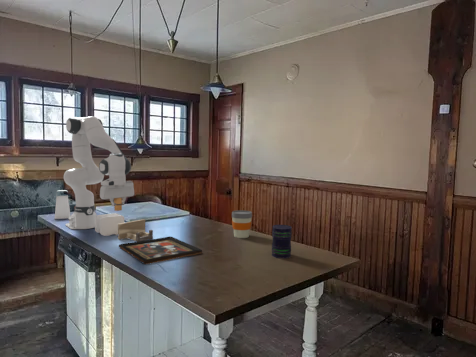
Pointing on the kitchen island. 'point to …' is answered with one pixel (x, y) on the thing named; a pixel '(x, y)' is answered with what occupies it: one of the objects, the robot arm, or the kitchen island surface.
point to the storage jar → (281, 241)
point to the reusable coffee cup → (241, 223)
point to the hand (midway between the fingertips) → (118, 205)
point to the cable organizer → (108, 223)
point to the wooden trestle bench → (134, 231)
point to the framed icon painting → (159, 249)
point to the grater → (62, 207)
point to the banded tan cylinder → (118, 204)
